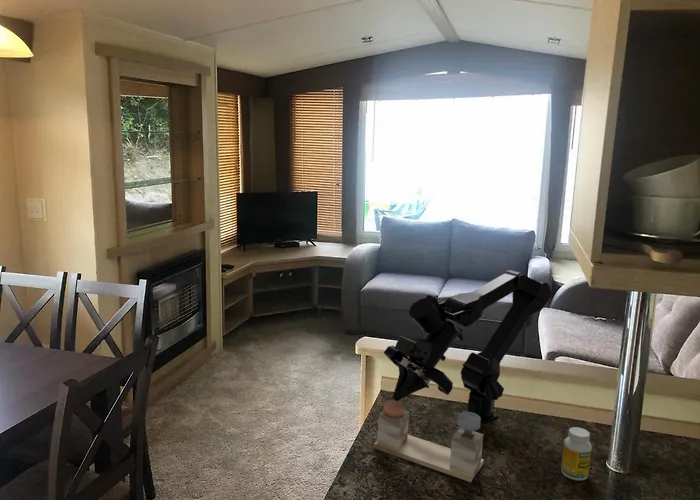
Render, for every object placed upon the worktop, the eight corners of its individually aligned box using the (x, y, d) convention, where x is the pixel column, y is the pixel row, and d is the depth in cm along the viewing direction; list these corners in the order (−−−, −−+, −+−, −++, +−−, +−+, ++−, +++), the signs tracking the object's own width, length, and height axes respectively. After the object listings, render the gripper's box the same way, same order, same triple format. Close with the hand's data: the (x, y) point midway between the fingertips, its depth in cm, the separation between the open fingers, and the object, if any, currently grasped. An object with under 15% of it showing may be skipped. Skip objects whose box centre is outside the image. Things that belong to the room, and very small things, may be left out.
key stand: (390, 432, 132) (391, 402, 131) (483, 463, 121) (486, 431, 119) (373, 447, 126) (374, 416, 124) (470, 482, 114) (473, 448, 113)
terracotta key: (389, 411, 129) (390, 398, 129) (407, 417, 127) (408, 403, 126) (379, 420, 126) (380, 405, 125) (398, 425, 123) (399, 411, 123)
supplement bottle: (571, 464, 122) (576, 422, 120) (593, 476, 118) (599, 434, 116) (555, 471, 119) (560, 429, 117) (577, 484, 115) (583, 441, 113)
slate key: (461, 424, 120) (462, 409, 120) (482, 430, 118) (483, 415, 117) (453, 433, 117) (454, 418, 116) (474, 440, 114) (476, 424, 114)
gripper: (392, 312, 133) (350, 365, 129) (446, 336, 117) (401, 398, 114) (416, 338, 139) (377, 390, 135) (471, 365, 123) (429, 424, 119)
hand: (394, 399), depth 125 cm, fingers closed
